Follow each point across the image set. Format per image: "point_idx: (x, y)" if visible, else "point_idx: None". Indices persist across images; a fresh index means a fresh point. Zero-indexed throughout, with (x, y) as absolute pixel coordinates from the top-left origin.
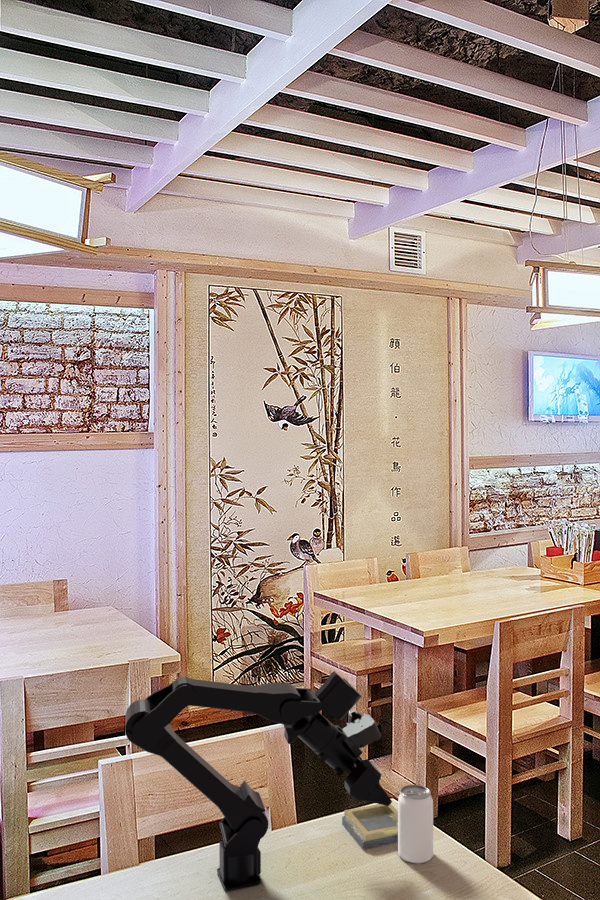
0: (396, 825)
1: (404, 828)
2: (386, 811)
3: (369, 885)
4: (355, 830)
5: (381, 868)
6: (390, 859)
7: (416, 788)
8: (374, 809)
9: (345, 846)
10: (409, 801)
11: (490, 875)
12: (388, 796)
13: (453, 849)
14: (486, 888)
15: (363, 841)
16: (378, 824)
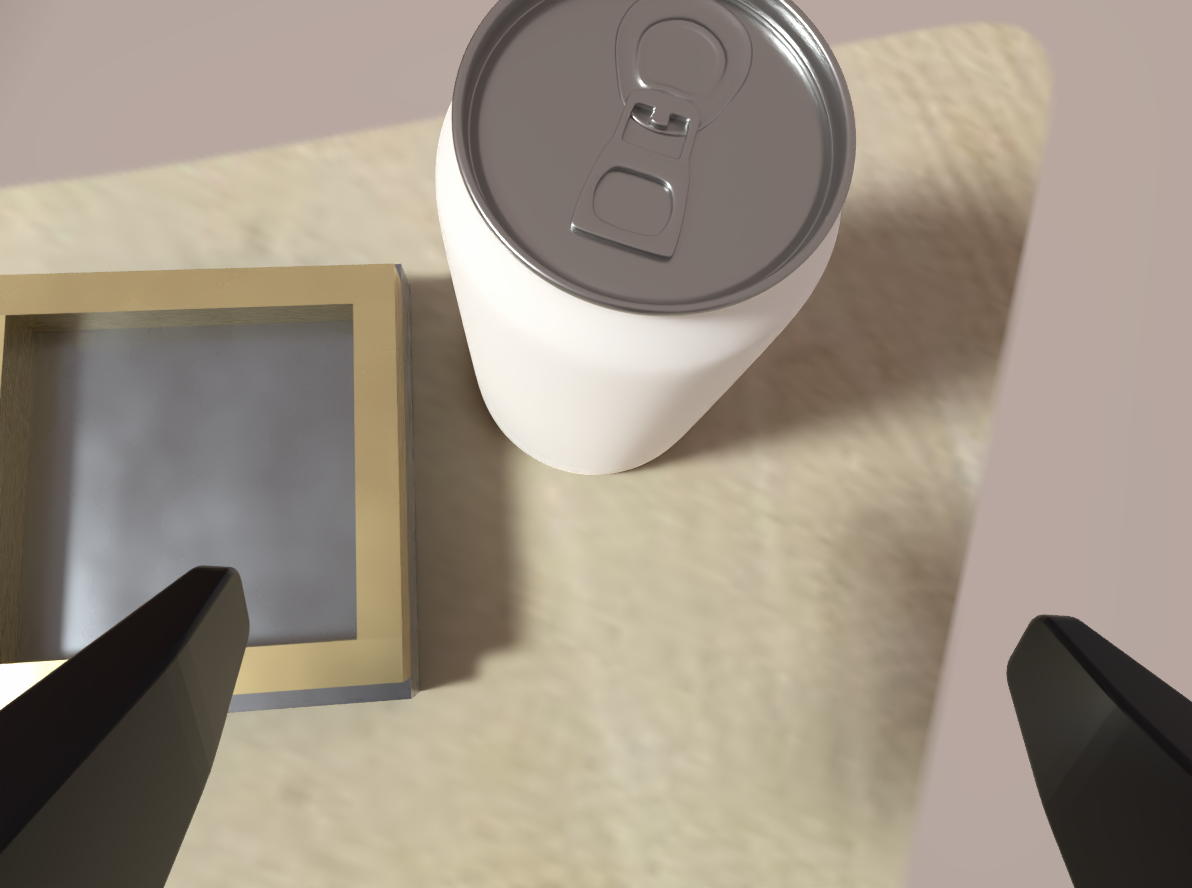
0: (275, 352)
1: (687, 418)
2: (42, 337)
3: (841, 802)
4: None
5: (677, 647)
6: (593, 544)
7: (533, 65)
8: (7, 434)
9: (334, 806)
10: (784, 287)
11: (900, 60)
12: (1190, 702)
13: None
14: (1007, 142)
15: (410, 692)
16: (209, 478)
